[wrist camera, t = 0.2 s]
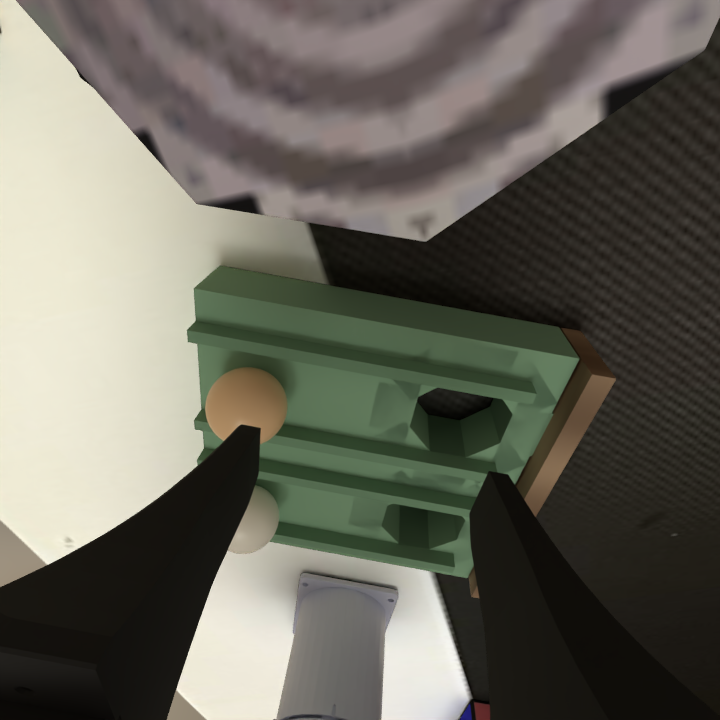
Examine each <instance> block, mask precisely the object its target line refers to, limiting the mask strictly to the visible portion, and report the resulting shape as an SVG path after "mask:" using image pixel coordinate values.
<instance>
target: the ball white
mask: <svg viewBox="0 0 720 720" xmlns="http://www.w3.org/2000/svg"><path fill="white" fill-rule="evenodd" d="M278 523H279V509H278V505H277V503H276V501H275V499H274V497H273V496H272V495H271V494H270V493H269V492H268V491H267V490H266V489H264V488H262V487H260V486H257V485H255V487H254V490H253V493H252V496H251V499H250V502H249V505H248V507H247V509H246V511H245V513H244V516H243V518H242V520H241V522H240V524H239V526H238V529H237V531H236V533H235V535H234V537H233V539H232V542H231V544H230V546H229V548H228V551H231V552H233V553H238V554H247V553H252V552H255V551H257V550H259V549H261V548H262V547H264V546H265V545H266V544H267V543H268V542H269V541H270V540H271V539H272V537H273V536H274V534H275V532H276V530H277V527H278Z"/></svg>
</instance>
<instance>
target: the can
mask: <svg viewBox="0 0 720 720" xmlns="http://www.w3.org/2000/svg"><path fill="white" fill-rule="evenodd" d="M16 1H17V2H18V3H19V5H20V6H21V7H22V8H23V9H24V10H25V11H26V12H27V14H28V15H29V16H30V17H31V18H32V19H33V20H34V21H35V23H36V24H37V25H38V26H39V27H40V28H41V29H42V30H43V32H44V33H45V34H46V35H47V36H48V37H49V38H50V39H51V41H52V42H53V43H54V44H55V45H56V46H57V47H58V48H59V50H60V51H61V52H62V53H63V54H64V55H65V56H66V57H67V59H68V60H69V61H70V62H71V63H72V64H73V65H74V67H75V68H76V70H77V72H78V74H79V76H80V78H82V79H83V80H84V81H86V82H87V83H88V84H89V85H91V86H92V87H93V88H94V89H95V90H96V91H97V92H98V94H99V95H100V96H101V97H102V98H103V99H104V100H105V101H106V103H107V104H108V105H109V106H110V107H111V108H112V109H113V110H114V112H115V113H116V114H117V115H118V116H119V117H120V118H121V119H122V121H123V122H124V123H125V124H126V125H127V126H128V127H129V128H130V130H131V131H132V132H133V133H134V134H135V135H136V136H137V137H138V139H139V140H140V141H141V142H142V143H143V144H144V145H145V146H146V148H147V149H148V150H149V151H150V152H151V153H152V154H153V155H154V157H155V158H156V159H157V160H158V161H159V162H160V163H161V164H162V166H163V167H164V168H165V169H166V170H167V171H168V172H169V173H170V175H171V176H172V177H173V178H174V179H175V180H176V181H177V182H178V184H179V185H180V186H181V187H182V188H183V189H184V190H185V191H186V193H187V194H188V195H189V196H190V197H191V198H192V199H193V200H194V202H195V203H196V204H200V205H206V206H212V207H218V208H224V209H230V210H236V211H242V212H249V213H255V214H261V215H267V216H273V217H279V218H285V219H291V220H297V221H303V222H309V223H315V224H321V225H327V226H334V227H340V228H346V229H352V230H358V231H364V232H370V233H376V234H382V235H388V236H394V237H400V238H406V239H412V240H418V241H425V242H426V241H428V240H429V239H430V238H432V237H433V236H435V235H436V234H438V233H439V232H441V231H442V230H444V229H445V228H446V227H448V226H449V225H451V224H452V223H454V222H455V221H457V220H458V219H460V218H461V217H462V216H464V215H465V214H467V213H468V212H470V211H471V210H473V209H474V208H476V207H477V206H478V205H480V204H481V203H483V202H484V201H486V200H487V199H489V198H490V197H492V196H493V195H494V194H496V193H497V192H499V191H500V190H502V189H503V188H505V187H506V186H507V185H509V184H510V183H512V182H513V181H515V180H516V179H518V178H519V177H521V176H522V175H523V174H525V173H526V172H528V171H529V170H531V169H532V168H534V167H535V166H537V165H538V164H539V163H541V162H542V161H544V160H545V159H547V158H548V157H550V156H551V155H553V154H554V153H555V152H557V151H558V150H560V149H561V148H563V147H564V146H566V145H567V144H569V143H570V142H571V141H573V140H574V139H576V138H577V137H579V136H580V135H582V134H583V133H585V132H586V131H587V130H589V129H590V128H592V127H593V126H595V125H596V124H598V123H599V122H601V121H602V120H603V119H605V118H606V117H608V116H609V115H611V114H612V113H614V112H615V111H617V110H618V109H619V108H621V107H622V106H624V105H625V104H627V103H628V102H630V101H631V100H632V99H634V98H635V97H637V96H638V95H640V94H641V93H643V92H644V91H646V90H647V89H648V88H650V87H651V86H653V85H654V84H656V83H657V82H659V81H660V80H662V79H663V78H664V77H666V76H667V75H669V74H670V73H672V72H673V71H675V70H676V69H678V68H679V67H680V66H682V65H683V64H685V63H686V62H688V61H689V60H691V59H692V58H694V57H695V56H696V55H698V54H699V53H701V52H702V51H704V50H705V48H706V46H707V43H708V41H709V39H710V37H711V35H712V33H713V30H714V28H715V26H716V24H717V22H718V19H719V17H720V0H16Z"/></svg>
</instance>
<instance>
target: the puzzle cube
mask: <svg viewBox="0 0 720 720" xmlns="http://www.w3.org/2000/svg"><path fill="white" fill-rule="evenodd" d="M460 720H490V703H488V702H482V701H476V700H472V701H471V702H470V704H469V705H468V707H467V708H466V710H465V712H464V713H463V715H462V716H461V718H460Z"/></svg>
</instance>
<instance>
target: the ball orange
mask: <svg viewBox="0 0 720 720" xmlns="http://www.w3.org/2000/svg"><path fill="white" fill-rule="evenodd" d="M205 412H206V418H207V421H208V424H209V426H210V428H211V429H212V431H213V432H214V433H215V434H216V435H217V436H218V437H219V438H220V439H221V440H223V441H224V440H225V439H226V438H227V437H228V436H229V435H230V434H231V433H232V432H233V431H234V430H235V429H236V428H237V427H238V426H239V425H241V424H243V425H248V426H253V427H259V428H261V434H260V444H262V443H264V442H266V441H268V440H269V439H271V438H272V437H273V436H274V435H275V434H277V432H278V431H279V430H280V428H281V427H282V425H283V423H284V421H285V418H286V415H287V397H286V394H285V391H284V389H283V387H282V385H281V384H280V383H279V381H278V380H277V379H276V378H275V377H274V376H272V375H271V374H270V373H268V372H266V371H264V370H261V369H258V368H253V367H242V368H237V369H234V370H231V371H229V372H227V373H225V374H224V375H222V376H221V377H220V378H219V379H217V381H216V382H215V383H214V384H213V385H212V387H211V389H210V391H209V393H208V395H207V398H206V404H205Z"/></svg>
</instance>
